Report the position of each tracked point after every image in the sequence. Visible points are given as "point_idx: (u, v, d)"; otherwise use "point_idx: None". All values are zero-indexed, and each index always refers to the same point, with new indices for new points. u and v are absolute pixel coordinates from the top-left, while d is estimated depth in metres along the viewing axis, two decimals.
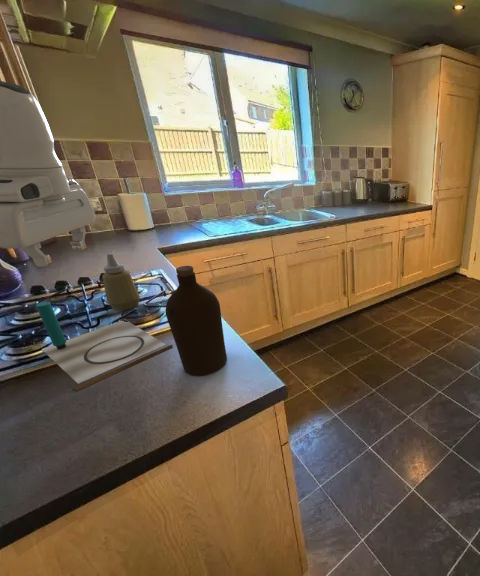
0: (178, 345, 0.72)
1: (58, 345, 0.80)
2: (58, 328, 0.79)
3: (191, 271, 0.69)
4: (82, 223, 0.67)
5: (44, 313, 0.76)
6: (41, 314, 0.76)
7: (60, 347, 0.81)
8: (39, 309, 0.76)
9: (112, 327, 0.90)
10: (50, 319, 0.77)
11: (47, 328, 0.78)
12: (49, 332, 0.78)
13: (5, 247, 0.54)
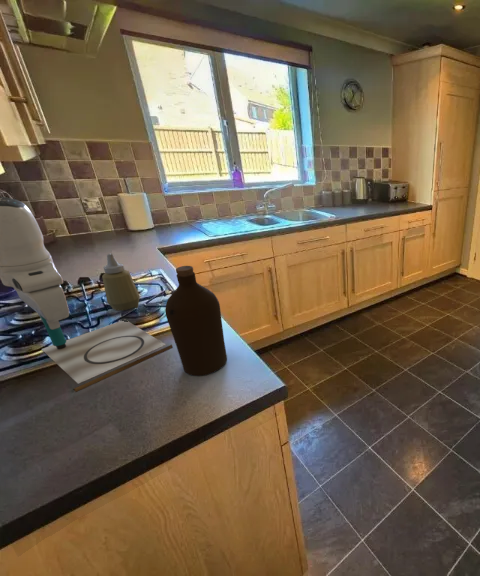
0: (178, 345, 0.72)
1: (58, 345, 0.80)
2: (58, 328, 0.79)
3: (191, 271, 0.69)
4: None
5: None
6: None
7: (60, 347, 0.81)
8: None
9: (112, 327, 0.90)
10: None
11: (47, 328, 0.78)
12: (49, 332, 0.78)
13: (56, 320, 0.72)
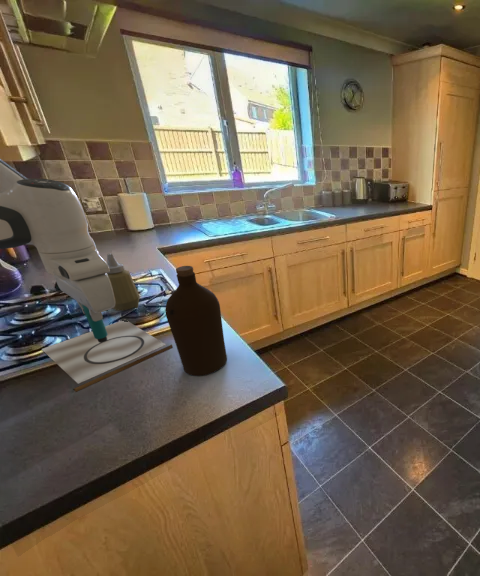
0: (178, 345, 0.72)
1: (100, 337, 0.76)
2: (100, 320, 0.75)
3: (191, 271, 0.69)
4: None
5: None
6: None
7: (101, 340, 0.77)
8: None
9: (112, 327, 0.90)
10: None
11: (90, 320, 0.74)
12: (91, 324, 0.74)
13: (102, 310, 0.68)
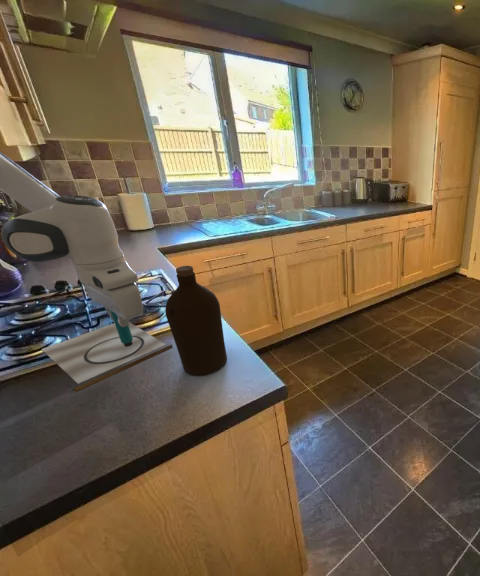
0: (178, 345, 0.72)
1: (126, 342, 0.81)
2: (127, 326, 0.80)
3: (191, 271, 0.69)
4: None
5: None
6: (113, 312, 0.77)
7: (127, 344, 0.81)
8: None
9: (112, 327, 0.90)
10: None
11: (117, 325, 0.79)
12: (119, 329, 0.79)
13: (132, 317, 0.73)
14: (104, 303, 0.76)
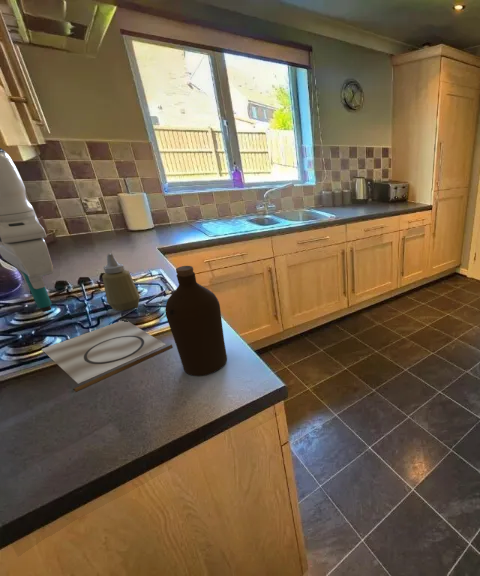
0: (178, 345, 0.72)
1: (43, 306, 0.75)
2: (42, 288, 0.75)
3: (191, 271, 0.69)
4: None
5: None
6: None
7: (45, 309, 0.76)
8: None
9: (112, 327, 0.90)
10: None
11: (31, 288, 0.73)
12: (33, 292, 0.74)
13: (39, 275, 0.67)
14: (13, 262, 0.70)
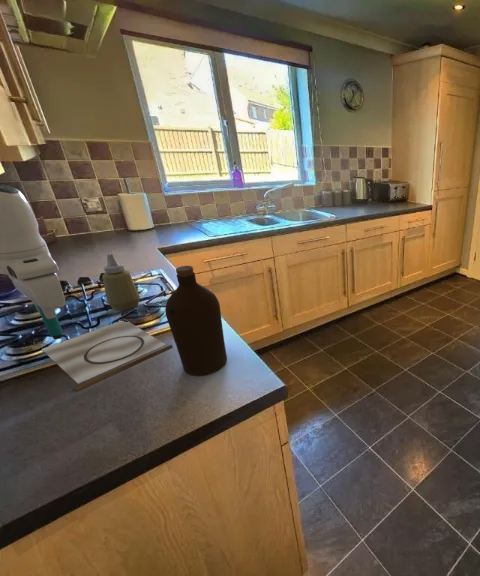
0: (178, 345, 0.72)
1: (54, 335, 0.79)
2: (54, 318, 0.78)
3: (191, 271, 0.69)
4: None
5: None
6: None
7: (56, 337, 0.79)
8: None
9: (112, 327, 0.90)
10: None
11: (43, 317, 0.77)
12: (45, 322, 0.77)
13: (52, 308, 0.71)
14: (26, 294, 0.74)
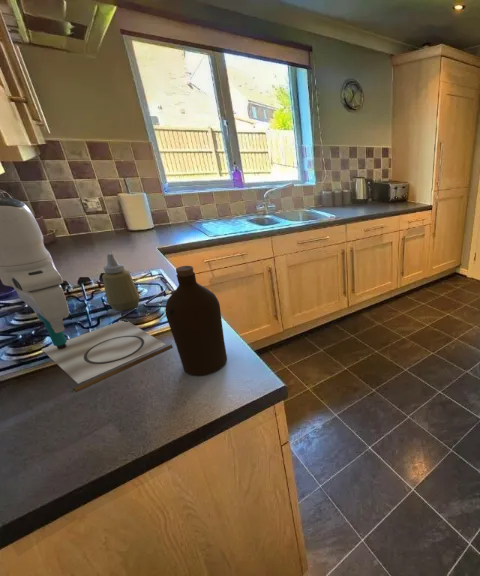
0: (178, 345, 0.72)
1: (59, 345, 0.80)
2: None
3: (191, 271, 0.69)
4: None
5: None
6: None
7: (60, 347, 0.81)
8: None
9: (112, 327, 0.90)
10: None
11: (48, 328, 0.78)
12: (49, 332, 0.78)
13: (56, 319, 0.72)
14: (31, 305, 0.75)
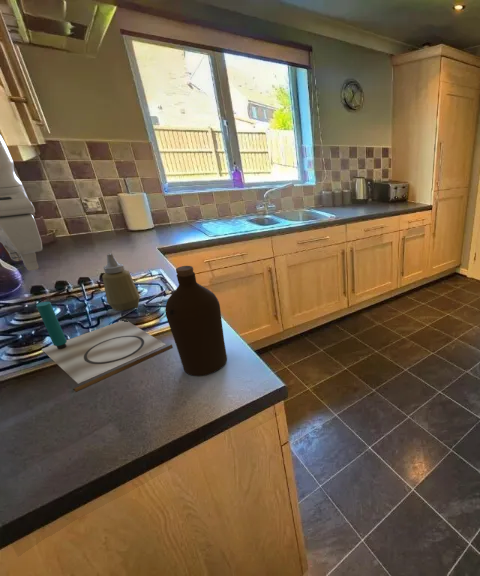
0: (178, 345, 0.72)
1: (59, 345, 0.80)
2: (58, 328, 0.79)
3: (191, 271, 0.69)
4: None
5: (44, 313, 0.76)
6: (41, 314, 0.76)
7: (60, 347, 0.81)
8: (39, 309, 0.76)
9: (112, 327, 0.90)
10: (50, 319, 0.77)
11: (48, 328, 0.78)
12: (49, 332, 0.78)
13: (27, 252, 0.65)
14: (1, 239, 0.68)
